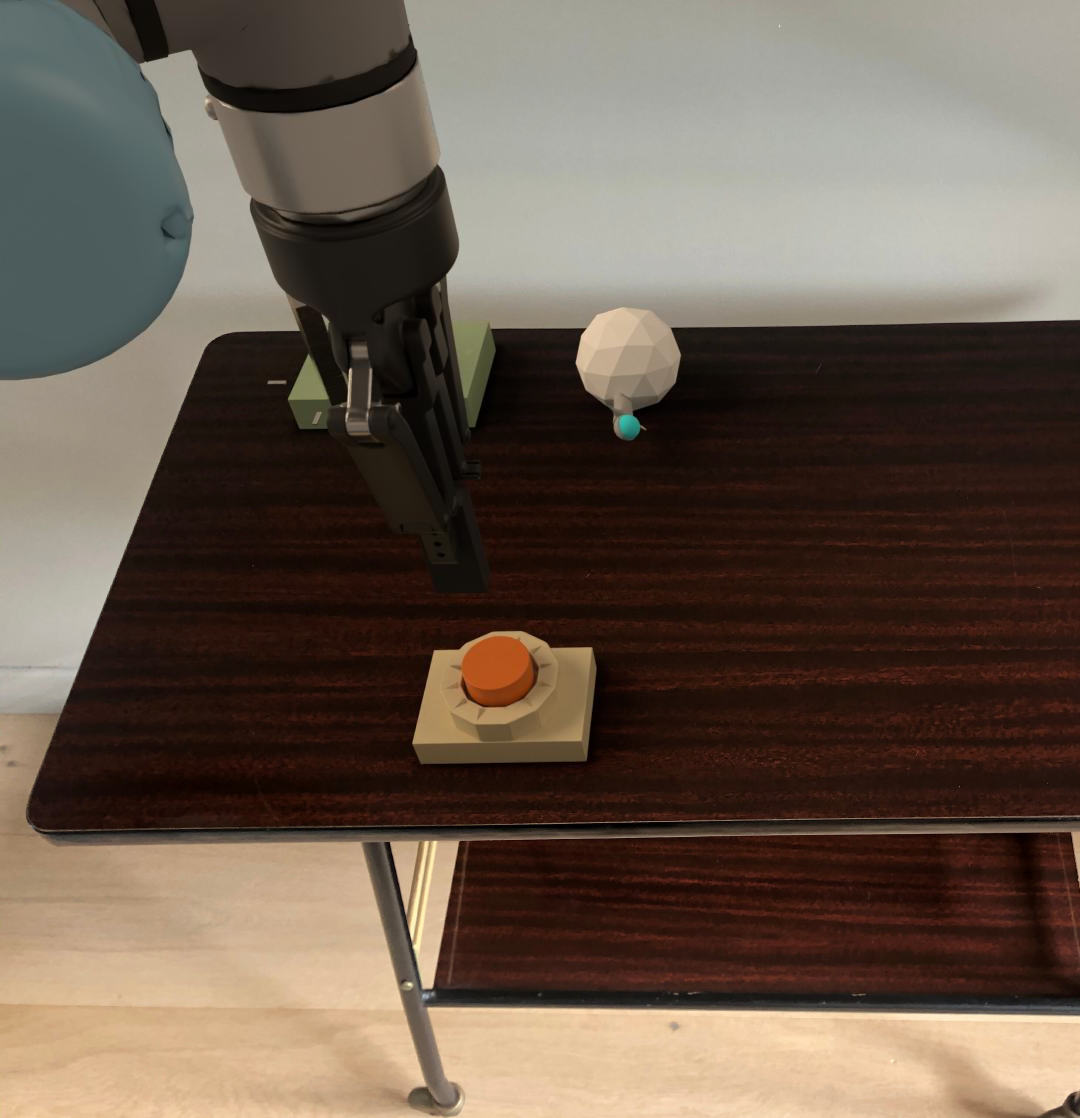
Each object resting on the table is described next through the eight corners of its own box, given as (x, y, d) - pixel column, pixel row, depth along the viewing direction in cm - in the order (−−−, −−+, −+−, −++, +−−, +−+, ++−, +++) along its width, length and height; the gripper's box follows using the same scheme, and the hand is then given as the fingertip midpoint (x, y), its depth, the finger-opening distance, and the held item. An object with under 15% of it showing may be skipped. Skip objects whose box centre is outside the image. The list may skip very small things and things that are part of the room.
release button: (462, 707, 66) (455, 690, 65) (473, 654, 69) (467, 636, 68) (529, 706, 66) (524, 688, 65) (538, 652, 69) (533, 634, 68)
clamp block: (261, 455, 88) (247, 424, 85) (308, 352, 96) (296, 322, 94) (467, 453, 87) (459, 422, 85) (495, 350, 96) (488, 319, 94)
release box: (420, 764, 68) (404, 726, 65) (441, 671, 73) (427, 631, 70) (586, 761, 68) (577, 723, 65) (596, 668, 73) (588, 628, 70)
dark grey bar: (352, 400, 87) (316, 298, 80) (332, 407, 87) (293, 305, 80) (332, 359, 91) (296, 258, 84) (312, 365, 90) (274, 264, 83)
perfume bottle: (697, 324, 92) (708, 434, 85) (621, 373, 95) (625, 483, 88) (632, 266, 86) (639, 379, 79) (554, 321, 90) (554, 433, 83)
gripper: (294, 103, 49) (418, 500, 66) (192, 271, 40) (366, 680, 57) (468, 100, 48) (547, 499, 66) (406, 268, 40) (516, 679, 57)
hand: (463, 583), depth 61 cm, fingers closed
